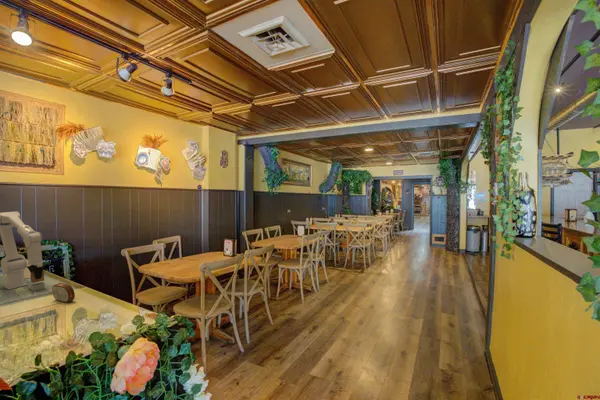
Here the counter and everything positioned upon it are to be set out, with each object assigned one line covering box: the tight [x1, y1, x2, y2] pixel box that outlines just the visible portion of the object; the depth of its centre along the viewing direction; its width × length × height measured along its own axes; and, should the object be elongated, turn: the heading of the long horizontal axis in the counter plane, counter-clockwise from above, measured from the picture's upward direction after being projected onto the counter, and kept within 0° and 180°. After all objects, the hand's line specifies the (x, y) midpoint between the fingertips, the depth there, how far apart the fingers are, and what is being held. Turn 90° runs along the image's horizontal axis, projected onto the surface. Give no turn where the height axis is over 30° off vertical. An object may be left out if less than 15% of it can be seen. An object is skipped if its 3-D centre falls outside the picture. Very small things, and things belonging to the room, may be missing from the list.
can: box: [24, 258, 31, 280], centre depth 181 cm, size 6×6×12 cm
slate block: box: [30, 281, 46, 292], centre depth 157 cm, size 5×5×3 cm
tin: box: [51, 282, 76, 303], centre depth 136 cm, size 15×3×8 cm, turn 65°
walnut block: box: [30, 270, 45, 284], centre depth 157 cm, size 4×4×6 cm
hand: (37, 278), depth 157 cm, fingers closed on walnut block, 4 cm apart
